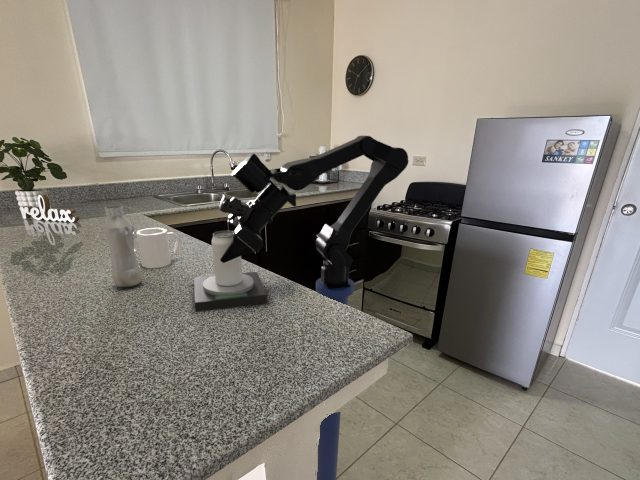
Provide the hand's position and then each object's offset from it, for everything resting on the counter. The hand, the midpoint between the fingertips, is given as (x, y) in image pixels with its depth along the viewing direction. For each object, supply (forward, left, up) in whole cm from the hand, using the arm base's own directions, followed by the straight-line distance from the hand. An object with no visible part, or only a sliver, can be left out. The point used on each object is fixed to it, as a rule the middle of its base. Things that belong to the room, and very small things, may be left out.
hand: (220, 256), depth 82 cm
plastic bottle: (+23, -12, -10) cm, 28 cm away
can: (-2, 0, -7) cm, 7 cm away
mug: (+16, -28, -10) cm, 34 cm away
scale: (-1, 0, -10) cm, 10 cm away
